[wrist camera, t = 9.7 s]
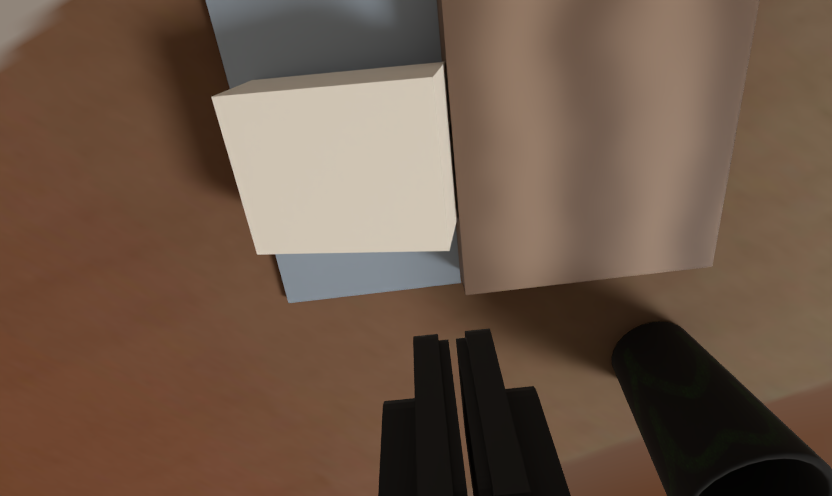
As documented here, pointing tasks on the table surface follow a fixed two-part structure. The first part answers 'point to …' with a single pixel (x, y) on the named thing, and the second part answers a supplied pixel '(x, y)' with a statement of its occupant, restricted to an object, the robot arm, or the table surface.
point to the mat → (325, 53)
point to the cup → (709, 422)
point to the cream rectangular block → (344, 160)
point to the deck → (590, 134)
